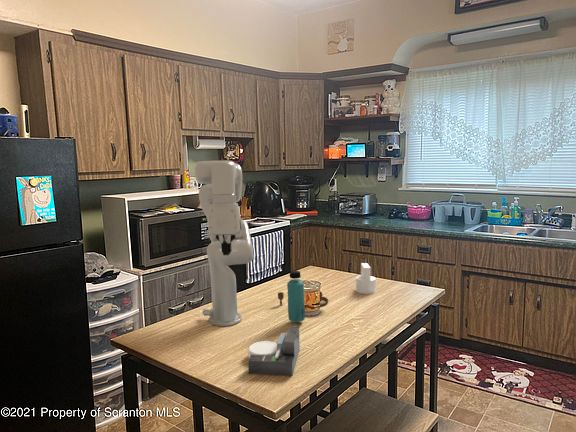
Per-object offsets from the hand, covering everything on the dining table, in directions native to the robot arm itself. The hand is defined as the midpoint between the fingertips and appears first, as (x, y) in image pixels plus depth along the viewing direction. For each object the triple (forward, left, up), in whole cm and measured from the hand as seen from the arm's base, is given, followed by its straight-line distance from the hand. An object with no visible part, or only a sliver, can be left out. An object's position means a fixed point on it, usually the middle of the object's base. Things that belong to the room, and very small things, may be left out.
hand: (226, 254), depth 144 cm
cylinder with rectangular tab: (+47, +61, -31) cm, 83 cm away
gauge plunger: (+19, -12, -30) cm, 38 cm away
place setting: (+21, +43, -32) cm, 58 cm away
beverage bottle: (+20, +20, -31) cm, 42 cm away
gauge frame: (+17, -12, -31) cm, 37 cm away
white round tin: (+13, -9, -32) cm, 35 cm away
